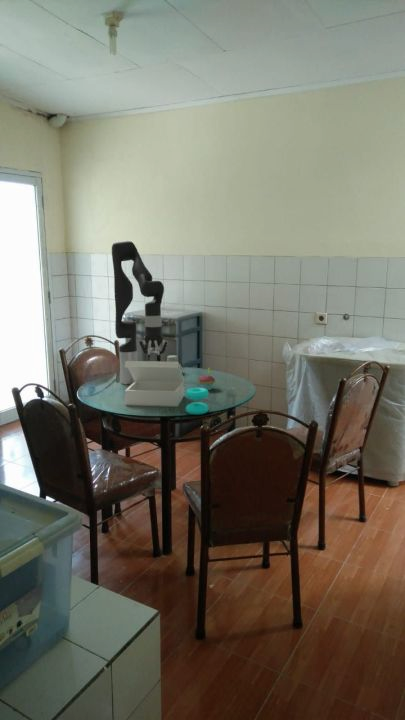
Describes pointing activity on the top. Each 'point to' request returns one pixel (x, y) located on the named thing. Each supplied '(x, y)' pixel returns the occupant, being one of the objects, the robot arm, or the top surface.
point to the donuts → (197, 407)
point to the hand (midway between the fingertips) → (154, 362)
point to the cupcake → (206, 381)
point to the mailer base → (154, 394)
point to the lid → (155, 370)
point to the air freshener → (173, 359)
